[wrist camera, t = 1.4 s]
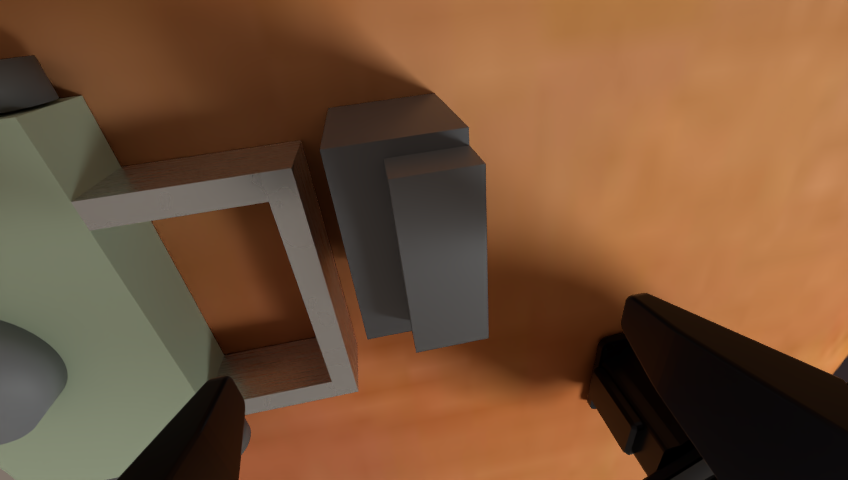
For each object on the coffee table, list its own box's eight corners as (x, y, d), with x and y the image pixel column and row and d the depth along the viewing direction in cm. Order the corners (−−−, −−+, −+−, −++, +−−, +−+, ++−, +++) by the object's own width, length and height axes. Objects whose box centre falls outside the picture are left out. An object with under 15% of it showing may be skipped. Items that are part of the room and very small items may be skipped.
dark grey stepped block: (434, 92, 15) (485, 143, 9) (446, 246, 18) (488, 348, 13) (328, 107, 14) (315, 170, 9) (363, 261, 18) (369, 373, 12)
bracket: (301, 140, 15) (291, 167, 12) (357, 343, 20) (358, 391, 18) (121, 166, 14) (71, 202, 11) (231, 368, 20) (214, 421, 17)
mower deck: (58, 52, 12) (-77, 72, 8) (255, 413, 22) (236, 498, 18) (-271, 92, 11) (-587, 135, 7) (88, 448, 21) (30, 545, 17)
